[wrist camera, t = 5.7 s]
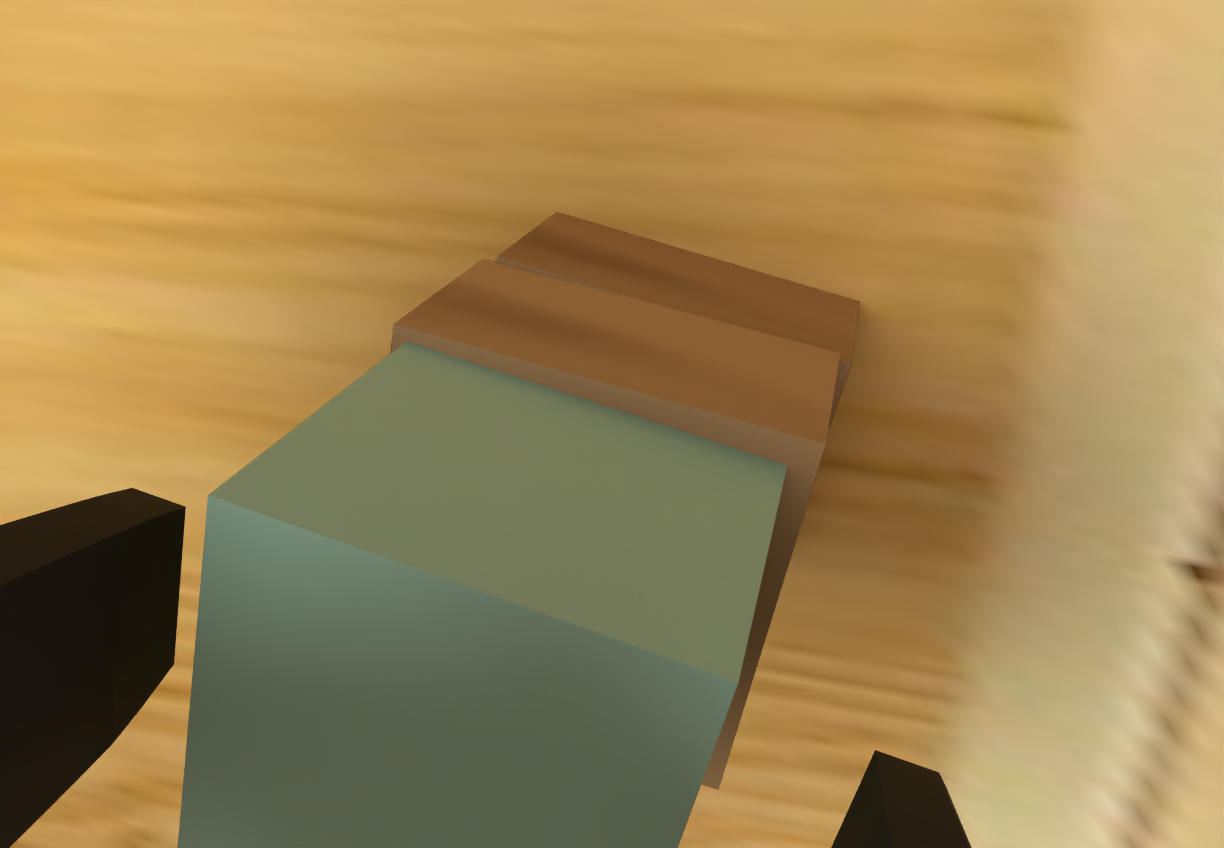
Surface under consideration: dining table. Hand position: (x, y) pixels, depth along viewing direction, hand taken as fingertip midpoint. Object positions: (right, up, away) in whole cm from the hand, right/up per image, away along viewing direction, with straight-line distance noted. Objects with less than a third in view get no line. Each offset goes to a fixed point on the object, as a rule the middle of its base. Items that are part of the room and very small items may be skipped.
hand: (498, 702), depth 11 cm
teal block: (0, +1, +2) cm, 3 cm away
